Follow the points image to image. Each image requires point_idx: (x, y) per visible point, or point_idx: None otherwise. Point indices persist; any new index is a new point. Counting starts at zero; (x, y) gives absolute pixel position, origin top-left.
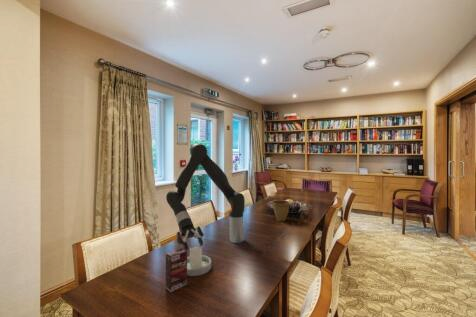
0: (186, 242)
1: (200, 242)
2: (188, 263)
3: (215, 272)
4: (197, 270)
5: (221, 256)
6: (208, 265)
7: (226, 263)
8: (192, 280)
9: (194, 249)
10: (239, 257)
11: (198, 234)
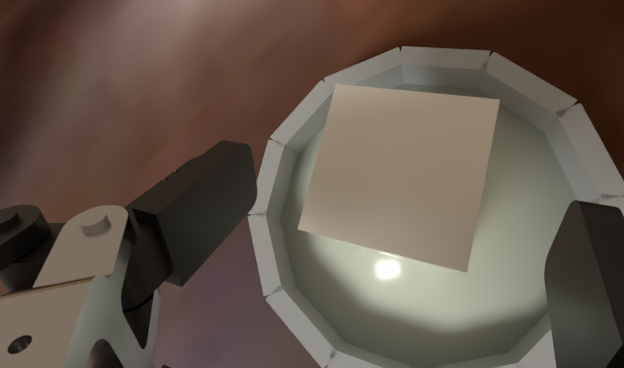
0: (618, 326)
1: (224, 181)
2: (434, 315)
3: (367, 30)
4: (515, 70)
5: (154, 178)
6: (379, 56)
7: (221, 71)
8: (600, 63)
9: (429, 161)
10: (116, 68)
11: (43, 283)
